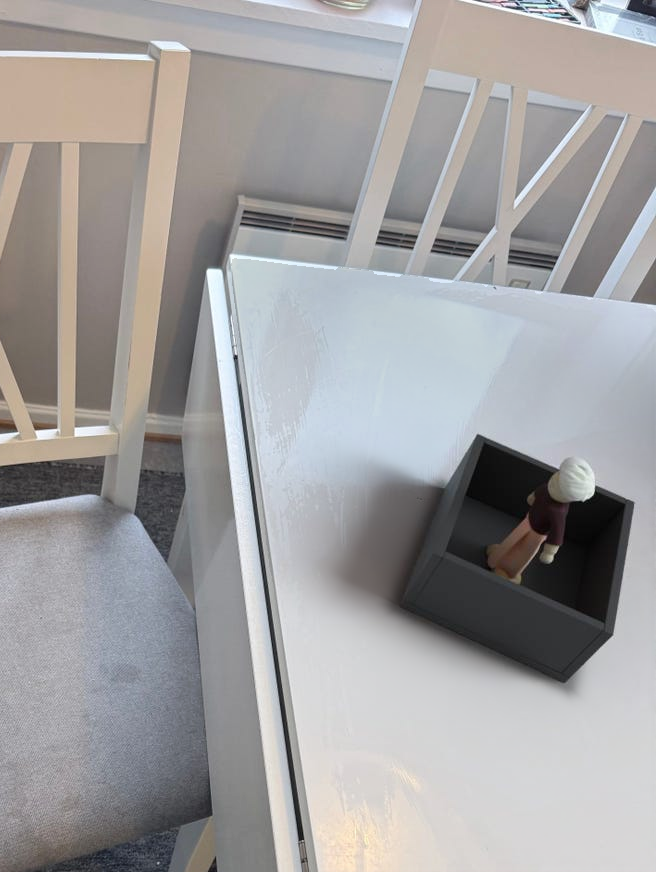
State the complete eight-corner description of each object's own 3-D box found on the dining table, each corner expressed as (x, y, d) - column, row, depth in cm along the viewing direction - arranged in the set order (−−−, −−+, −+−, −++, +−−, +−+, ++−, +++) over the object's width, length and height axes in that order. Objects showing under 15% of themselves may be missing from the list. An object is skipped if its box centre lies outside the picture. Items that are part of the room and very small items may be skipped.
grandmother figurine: (470, 537, 77) (543, 428, 67) (509, 539, 78) (587, 432, 68) (496, 605, 73) (578, 500, 63) (537, 607, 74) (625, 503, 64)
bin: (591, 553, 80) (635, 501, 75) (565, 683, 70) (613, 635, 65) (444, 488, 82) (477, 433, 76) (399, 606, 72) (433, 553, 67)
